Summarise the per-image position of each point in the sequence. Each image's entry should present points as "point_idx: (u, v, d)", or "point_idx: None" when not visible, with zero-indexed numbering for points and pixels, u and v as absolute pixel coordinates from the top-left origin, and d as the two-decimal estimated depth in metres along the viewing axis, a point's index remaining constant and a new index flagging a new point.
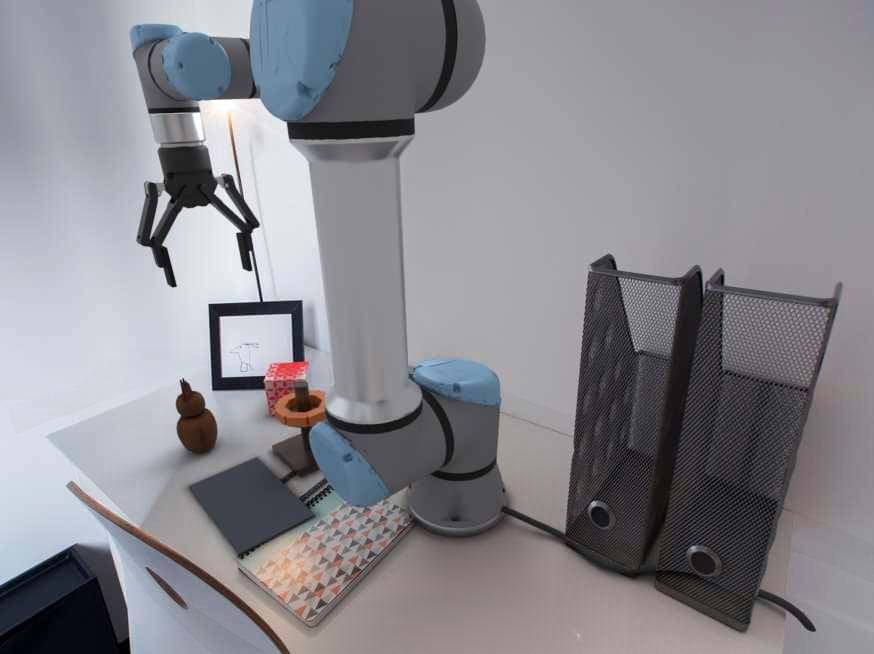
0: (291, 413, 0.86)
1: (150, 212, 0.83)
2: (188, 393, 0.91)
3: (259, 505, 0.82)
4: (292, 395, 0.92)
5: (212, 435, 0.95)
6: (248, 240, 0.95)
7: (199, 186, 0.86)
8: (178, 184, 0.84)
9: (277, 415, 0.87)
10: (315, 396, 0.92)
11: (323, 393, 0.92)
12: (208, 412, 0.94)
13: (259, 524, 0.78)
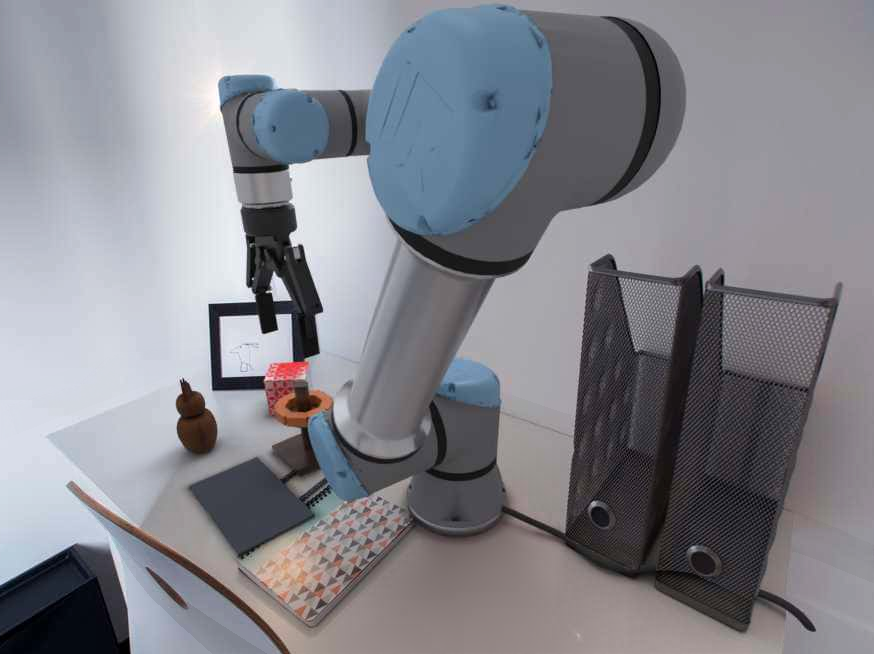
0: (291, 413, 0.86)
1: (248, 260, 0.83)
2: (188, 393, 0.91)
3: (259, 505, 0.82)
4: (292, 395, 0.92)
5: (212, 435, 0.95)
6: (305, 325, 0.77)
7: None
8: (259, 242, 0.78)
9: (277, 415, 0.87)
10: (315, 396, 0.92)
11: (323, 393, 0.92)
12: (208, 412, 0.94)
13: (259, 524, 0.78)
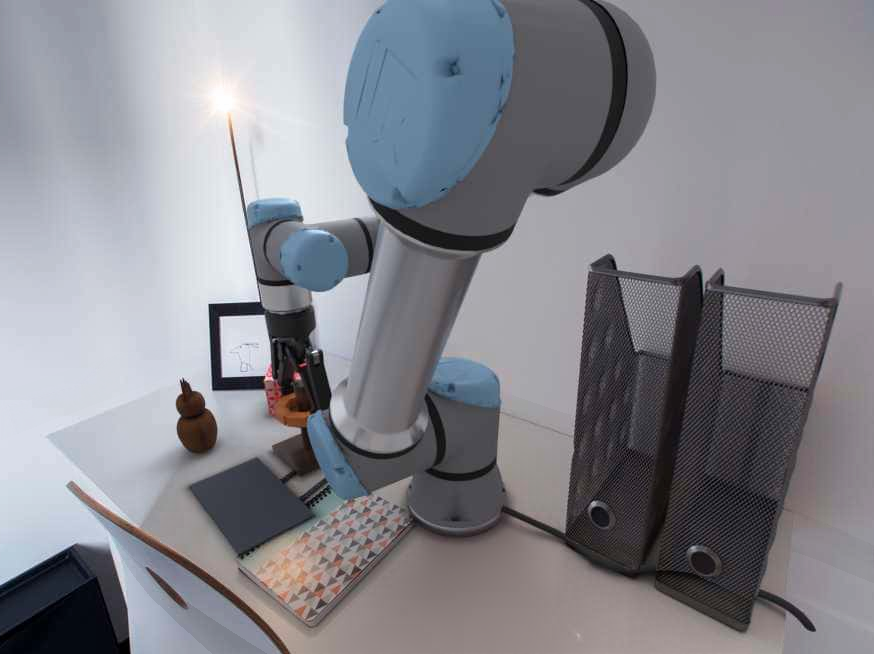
0: (291, 413, 0.86)
1: (272, 354, 0.90)
2: (188, 393, 0.91)
3: (259, 505, 0.82)
4: (292, 395, 0.92)
5: (212, 435, 0.95)
6: None
7: (288, 346, 0.82)
8: (280, 337, 0.85)
9: (277, 415, 0.87)
10: None
11: None
12: (208, 412, 0.94)
13: (259, 524, 0.78)
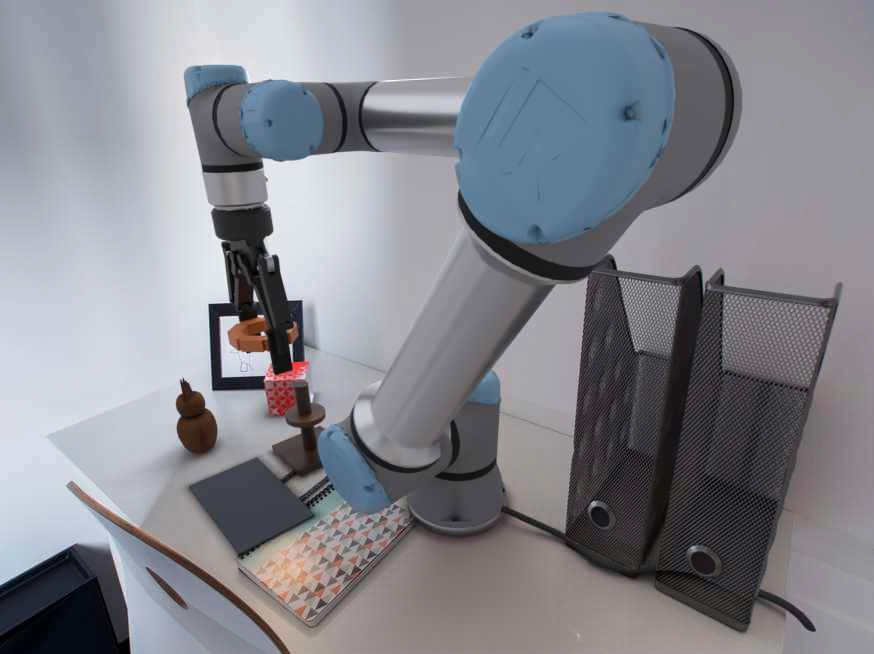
0: (246, 336, 0.75)
1: (227, 271, 0.78)
2: (188, 393, 0.91)
3: (259, 505, 0.82)
4: (251, 321, 0.80)
5: (212, 435, 0.95)
6: (275, 341, 0.73)
7: None
8: (233, 246, 0.73)
9: (231, 339, 0.76)
10: None
11: None
12: (208, 412, 0.94)
13: (259, 524, 0.78)
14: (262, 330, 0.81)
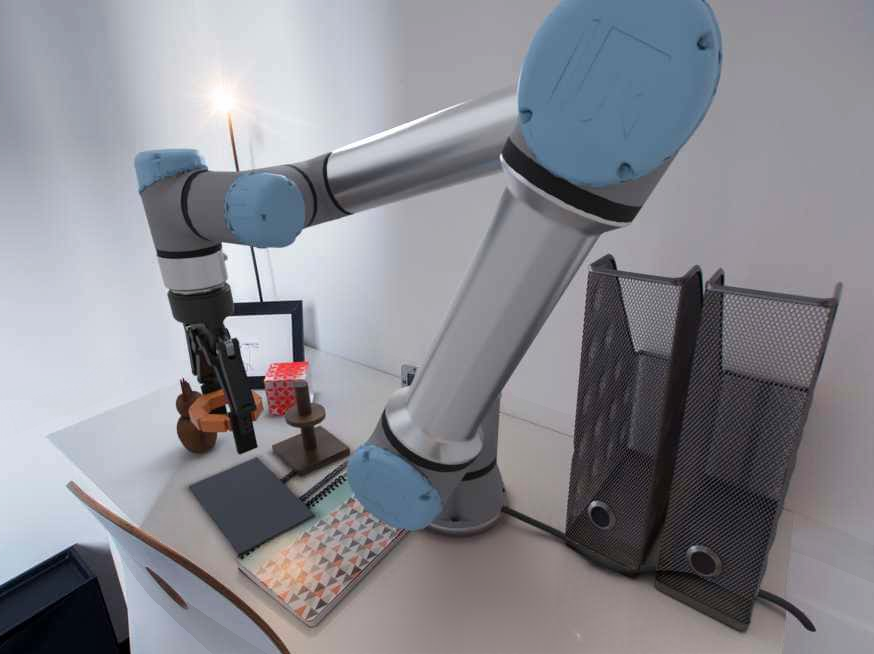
0: (207, 415, 0.72)
1: (188, 345, 0.75)
2: (188, 393, 0.91)
3: (259, 505, 0.82)
4: (214, 394, 0.77)
5: (212, 435, 0.95)
6: (238, 422, 0.70)
7: (199, 335, 0.68)
8: (193, 324, 0.70)
9: (192, 418, 0.73)
10: None
11: (252, 392, 0.78)
12: None
13: (259, 524, 0.78)
14: (226, 403, 0.78)
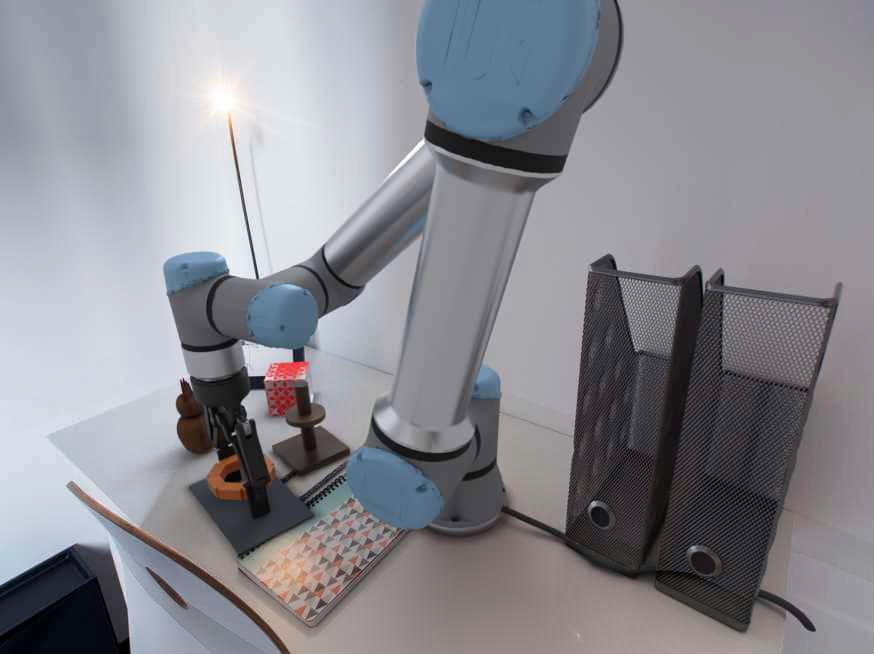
0: (224, 484, 0.78)
1: (206, 415, 0.81)
2: (188, 393, 0.91)
3: None
4: (230, 459, 0.83)
5: None
6: (253, 491, 0.76)
7: (218, 413, 0.74)
8: None
9: (210, 485, 0.79)
10: None
11: (264, 457, 0.83)
12: None
13: (259, 524, 0.78)
14: (240, 467, 0.84)
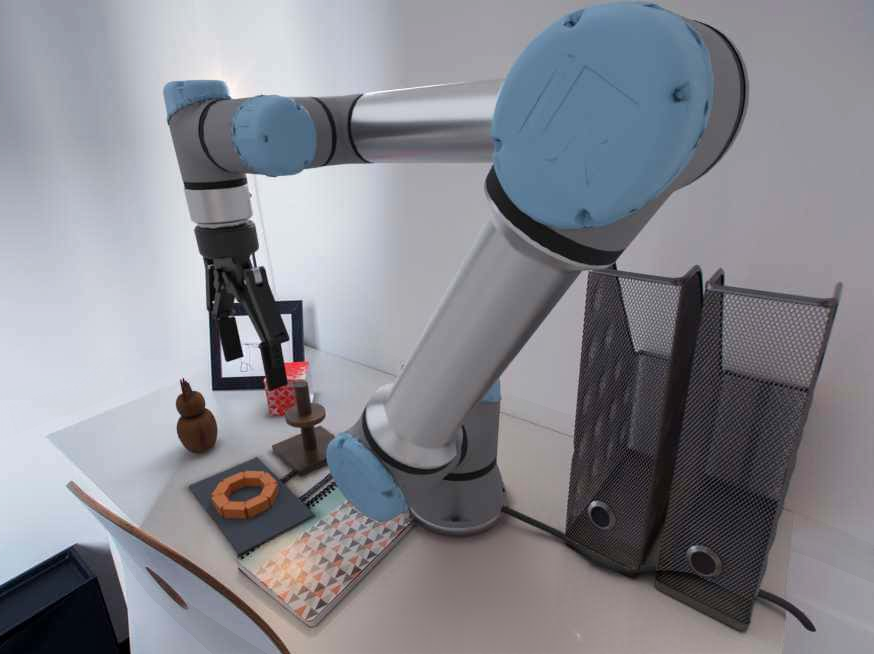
0: (229, 503, 0.80)
1: (207, 282, 0.76)
2: (188, 393, 0.91)
3: None
4: (234, 478, 0.85)
5: (212, 435, 0.95)
6: (270, 355, 0.70)
7: None
8: (217, 264, 0.71)
9: (214, 504, 0.81)
10: (259, 479, 0.85)
11: (268, 475, 0.85)
12: (208, 412, 0.94)
13: (259, 524, 0.78)
14: (244, 485, 0.86)
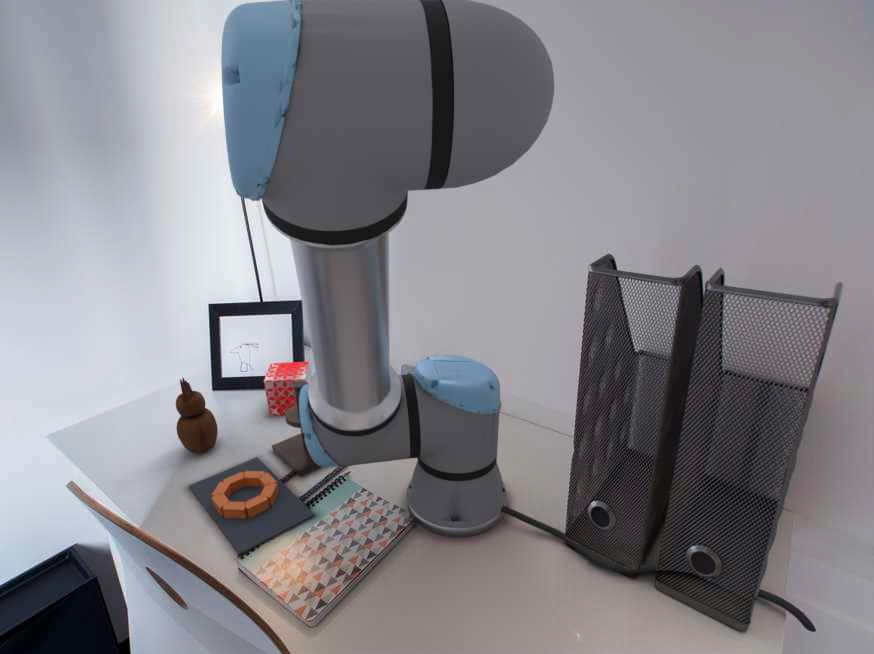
0: (229, 503, 0.80)
1: None
2: (188, 393, 0.91)
3: None
4: (234, 478, 0.85)
5: (212, 435, 0.95)
6: None
7: None
8: None
9: (214, 504, 0.81)
10: (259, 479, 0.85)
11: (268, 475, 0.85)
12: (208, 412, 0.94)
13: (259, 524, 0.78)
14: (244, 485, 0.86)
